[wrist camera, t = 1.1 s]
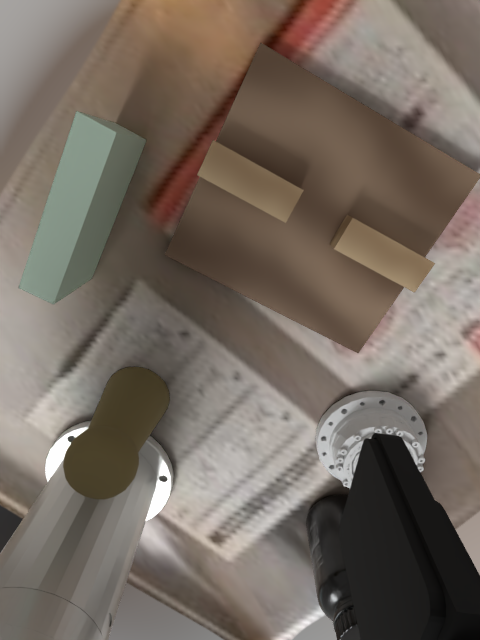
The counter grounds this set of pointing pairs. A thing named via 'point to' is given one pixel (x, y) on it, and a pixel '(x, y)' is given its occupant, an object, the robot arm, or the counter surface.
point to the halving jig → (317, 203)
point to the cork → (116, 434)
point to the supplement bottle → (331, 565)
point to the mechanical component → (366, 430)
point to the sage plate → (81, 206)
